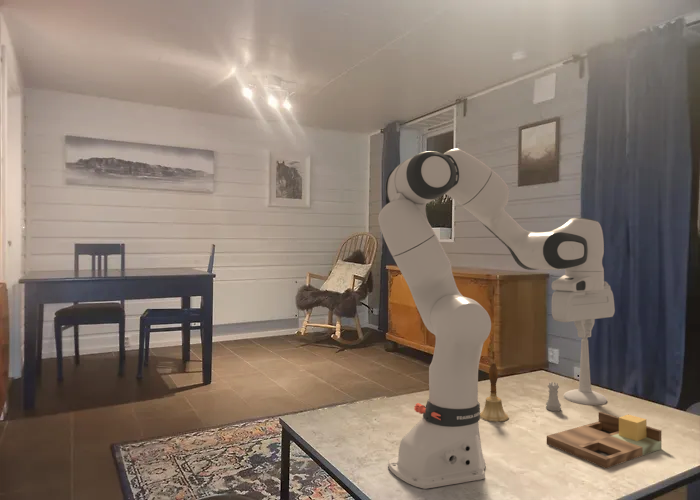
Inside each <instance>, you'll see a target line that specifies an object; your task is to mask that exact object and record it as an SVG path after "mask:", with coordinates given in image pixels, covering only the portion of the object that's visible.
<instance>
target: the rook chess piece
mask: <svg viewBox="0 0 700 500" xmlns="http://www.w3.org/2000/svg"><path fill="white" fill-rule="evenodd" d="M547 387H548V392H549V393H548V399H547V401H546V403H545V408H546V410H547V411H549V412H559V411H561V410H562V404H561V402H560V401H559V395H558V394H559V390H558V389H559V388H560V387H559V385H558V383H557V382H552V381H550V382H548V385H547Z"/></svg>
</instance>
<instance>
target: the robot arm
mask: <svg viewBox="0 0 700 500" xmlns="http://www.w3.org/2000/svg"><path fill="white" fill-rule="evenodd" d="M384 192H385V193H384V194H385V205H384V206H383V207H382V208H381V210H380V211H379V214H378V220H377V221H378V225H379V228H380V231H381V234H382V236H383V240H384V242H385V243H386V246H387V248H388V251H389V253H390V255H391V256H392V259H393V260H394V262H395V264H396V265H397V268H398V269H399V271H400V273H401V275H402V277H403V279H404V280H405V282H406V284H407V286H408V289H409V291H410V293H411V296H412V299H413V301H414V304H415V306H416V308H417V311H418V313H419V315H420V318H421V319H422V322H423V324H424V326H425V328H426V329H427V331H428V332H430V333H431V334H433V335H434V337H435V344H434V348H433V349H434V350H433V356H432V359H431V363H430V364H429V368H428V389H429V391H428V399H427V401H426V404H425V405H423V404H421V403H419V402H417V403H415V406H414V408H413V409H414V411H415V412H416V413H419V414H420V415H422V418H421V419H420V420H419V421H418V422H417V423H416V425H414V426H413V427H412V428H411V429H410V430H409V431H408V432H407V433H406V434H405V435H404V436H403V437H402V438H401V439H400V443H399V447H398V455H397V456H395V457H392V458H390V459H389V460H388V464H387V465H388V466H387V467H388V469H389V470H390V472H391V473H392V474H393V475H395V476H396V477H397V478H398V479H400V480H402V481H403V482H405V483H407V484H409V485H411V486H413V487H417V488H421V489H424V490H425V489H432V488H437V487H438V488H440V487H444V486H450V485H456V484H462V483H468V482H474V481H480V480H483V479H485V478H486V473H485V469H486V465H487V464H486V462H485V458H484V457H485V456H484V454H483V449H482V442H481V435H480V427H479V426H480V425H479V421H480V419H481V418H480V413H481V405H480V402H479V393H478V392H479V388H478V387H479V366H480V360H481V356H482V351H483V347H484V344H485V341H487V339H488V338H489V336H490V335H491V334H490V333H491V330H492V320H491V316H490V315H489V313H488V311H487V310H486V309H485V308H484V307H483V306H482V305H481V303H479V302H478V301H476V300H475V299H473V298H470V297H468V296H467V297H466V296H463V294H462V293H461V292H460V290H459V288H458V287H457V283H456V280H455V278H454V274H453V270H452V263H451V260H450V258H449V257H448V255H447V253H446V251H445V249H444V247H443V245H442V243H441V242H440V240H439V238H438V235H436V232H435V231H434V229H433V227H432V226H431V224H430V223H429V219H428V217H427V210H426V209H427V208H426V206H427V204H429V203H431V202H434V201H435V200H437V199H439V198H441V197H443V196H444V195H446V196H448V197H450V198H451V199H453V201H455V202H456V203H457V204H458V205H460V207H462V208H463V209H465V210H466V211H467V212H468V213H470V214H471V215H472V216H473V217H475V218H476V219H477V220H478V221H479V222H480V223H481V224H482V225H483V227H485V229H487V230H488V231H489V232H490V233H491V234H492V235H493V236H494V237H495V238H497V239H498V240H499V241H500V242H501V243H502V244H503V245H504V246H505V247H506V248H507V250H509V252H510V255H511V256H512V258H513V260H514V261H515V262H516V264H517V265H518V266H519V267H521V268H522V269H523V270H524V269H525V270H528V271H533V270H534V271H535V270H536V271H537V270H547V271H552V270H553V271H561V270H564V271H565V272H564V273H565V274H562V276H561V277H559V278H557V279H555V280H553V281H552V282H551V290H552V291H553V293H552V296H551V316H552V318H553V320H554V321H555V322H561V323H570V322H573V324H574V326H575V328H576V330H577V337H578V338H581V339H582V338H586V337H588V338H591V337H592V330H593V327H594V326H595V320H596V319H605V318H613V317H614V315H615V312H616V310H615V300H614V299H615V298H614V293H613V290H612V288H611V285H610V284H609V283H608V281H605V271H604V270H605V268H604V266H603V258H604V253H605V251H604V250H605V247H604V246H605V245H604V244H605V243H604V242H605V241H604V232H603V229H602V226H601V224H600V222H599V221H597V220H595V219H591V218H586V217H585V218H584V217H573V218H569V219H568V220H567V221H566V222H565V223H564V224H562V225H561V226H558V227H557V228H555V229H552V230H550V231H540V232H537V231H532V230H531V231H530V230H527V229H525V228H523V227H522V226H521V225H520V223H518V222H517V221H516V220H515V219H514V218H513V217H512V216H511V215H510V214H509V213H508V212H507V211H506V209H505V208H506V206H507V205H508V202H509V198H510V188H509V186H508V185H507V183H506V181H505V180H503V178H502V177H501V176H500V175H499V174H498V173H497V172H495V170H493V169H492V168H490V166H488V165H487V164H485V163H484V162H483V161H481V160H480V159H478V158H477V157H475V156H474V155H472V154H470V153H469V152H466V151H464V150H462V149H460V148H452V149H449V150H446V152H444V153H442V152H438V151H435V150H434V151H432V150H428V151H422V152H420V153H419V152H418V154H415V155H414V156H413V157H410V158H407V159H405V160H403V161H402V162H401V163H399V164H398V165H397V166H396V167H395V168H393V169H392V170H391V171H390V173H389V174H388V175H387V178H386V180H385V183H384ZM584 324H585V325H584Z"/></svg>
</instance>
